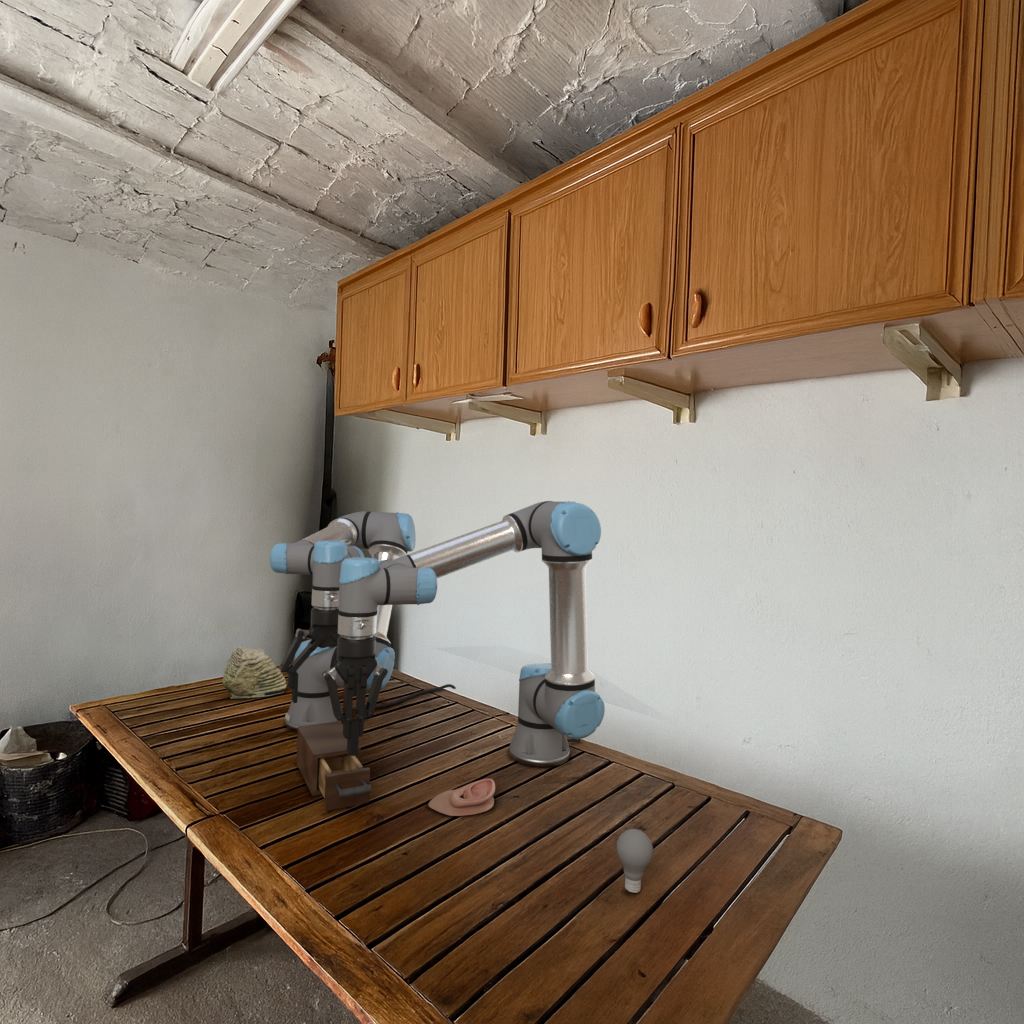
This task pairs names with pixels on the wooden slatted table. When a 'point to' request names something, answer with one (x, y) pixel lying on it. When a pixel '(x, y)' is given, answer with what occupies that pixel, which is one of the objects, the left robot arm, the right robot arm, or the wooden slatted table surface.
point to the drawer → (343, 781)
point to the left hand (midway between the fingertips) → (324, 698)
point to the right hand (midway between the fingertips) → (352, 752)
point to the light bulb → (634, 857)
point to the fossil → (252, 674)
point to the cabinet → (319, 749)
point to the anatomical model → (466, 799)
